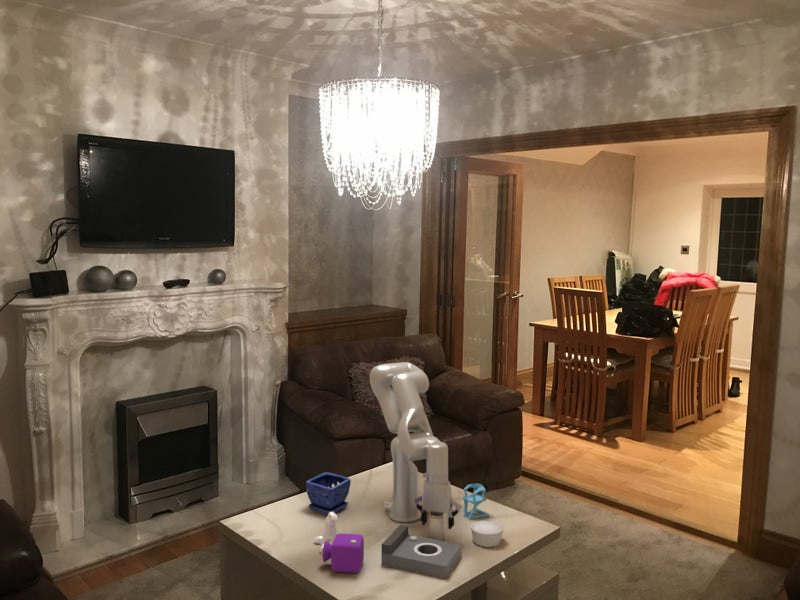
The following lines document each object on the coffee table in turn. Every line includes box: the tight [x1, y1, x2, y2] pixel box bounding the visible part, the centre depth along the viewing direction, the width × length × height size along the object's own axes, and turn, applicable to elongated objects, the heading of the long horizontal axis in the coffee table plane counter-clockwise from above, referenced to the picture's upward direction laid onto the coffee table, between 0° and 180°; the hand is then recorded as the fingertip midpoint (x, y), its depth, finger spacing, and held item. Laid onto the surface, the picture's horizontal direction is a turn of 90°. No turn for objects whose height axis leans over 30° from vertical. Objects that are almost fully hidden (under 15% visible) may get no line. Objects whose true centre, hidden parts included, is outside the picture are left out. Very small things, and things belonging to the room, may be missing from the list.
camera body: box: [380, 524, 462, 580], centre depth 214 cm, size 22×16×7 cm
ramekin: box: [470, 520, 504, 548], centre depth 228 cm, size 11×11×5 cm
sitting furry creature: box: [314, 512, 340, 553], centre depth 223 cm, size 10×9×12 cm
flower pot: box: [305, 472, 352, 516], centre depth 254 cm, size 13×13×12 cm
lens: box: [428, 511, 445, 541], centre depth 230 cm, size 5×5×9 cm
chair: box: [462, 483, 490, 520], centre depth 249 cm, size 8×8×12 cm
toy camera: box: [320, 532, 365, 574], centre depth 209 cm, size 11×14×10 cm
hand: (437, 525), depth 229 cm, fingers open, 9 cm apart
